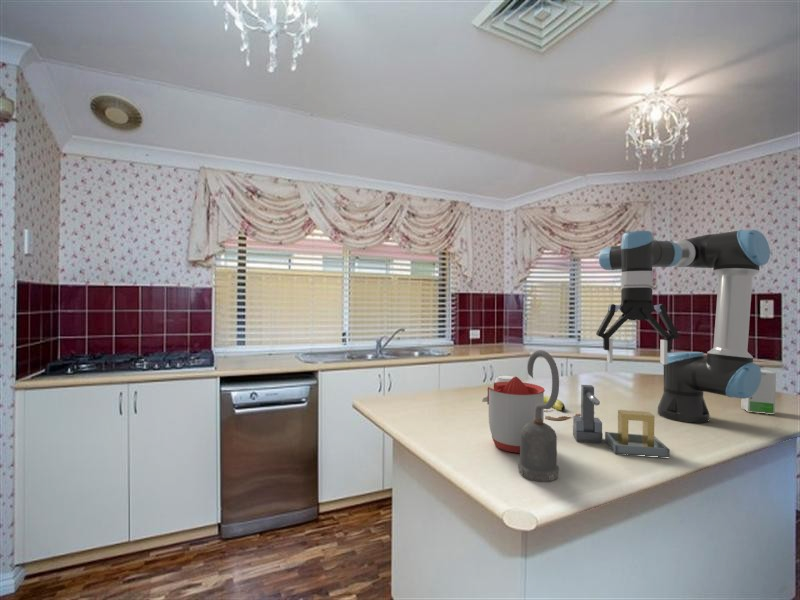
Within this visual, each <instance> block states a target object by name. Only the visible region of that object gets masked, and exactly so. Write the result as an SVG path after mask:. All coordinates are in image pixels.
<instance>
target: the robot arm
mask: <svg viewBox="0 0 800 600" xmlns="http://www.w3.org/2000/svg"><path fill="white" fill-rule="evenodd" d="M653 237H654V236H653V233H652V232H651V231H650V230H633V231H628V232H625V233H623V234H622V236H621V243H620V244H621V245H617V246H616V245H615V246H614V245H613V246H609V247H604V248H602V249H601V250H600V252H599V254H598V263H599V266H600V267H601V268H602V269H603V270H606V271H618V270H621V279H620V280H621V281H620V282H621V286H622V288H620V289H621V290H620V294H621V295H620V296H621V297H620V298H621V299H620V302H621V303H620V305H619V304H618V305H617V304H614V303H611V304H609V305H608V309H607V313H605V314H606V315H605V316H604V318H603V321H602V322H601V323H600V326H599V327H598V329H597V331H596V333H595V335H596V336H597V337H600V338H602V339H603V340H602V342H603V343H602V344H603V350H604V351H606V361H607V363H613V357H614V356H613V345H614V344H613V343H614V342H613V339H612V338H611V337H612V336H613V335H614V334H615V333H616V332H617V330H619V329H620V328H621V327H622V326H623V325H624V323H626V322H627V321H628V320H629V321H646V322H648V324H650V325H651V327H652V328H653V329H654V330H655V331H656V332H657V333H658V334H659V335H660V336H661V338H663V339H659V340H660V348H659V349H660V350H659V354H660V355H659V360H660V361H659V362H660V364H662V367H663V392H662V396H661V398H660V401H659V403H658V406H657V414H658V415H659V416H660V417H663V418H665V417H666V418H665V419H669V418H670V420H672V419H674V421H677V420H679V421H678V422H683V421H685V422H686V423H692V422H704V423H707V422H706V421H708V420H709V419H710V416H711V415H710V412H709V411H710V410H709V409H708V407H707V403H706V401H705V397H704V392H705V393H710V394H714V395H715V394H716V395H720V396H724V397H725V396H726V397H727V398H737V399H745V398H749V397H751V396H752V395H753V394H754V393H755V392H756V391H757V389H758V387H759V385H760V382H761V377H762V373H761V371H760V370H762V369H761V367H760V365H759V364H757V363H755V362H754V357H753V355H752V354H751V353H749V352H748V350H749V349H748V344H749V331H750V320H751V319H750V317H751V302H752V293H753V291H752V289H753V277H755V276H756V275H757V274H759V273H760V267H761V266H765V265H766V264H768V263H769V260H770V257H771V251H770V250H771V249H770V245H769V242H768V240H767V238H766V237H765V235H764V234H763V233H762V231H759V230H757V229H739V230H734V231H727V232H720V233H712V234H709V233H708V234H704V235H699V236H695V237H691V238H685V239H677V240H674V241H669V240H658V239H657V240H654V238H653ZM671 267H676V268H700V269H713V271H712V272H713V273H714V274H715V275H716V276H717V278H718V281H717V291H716V292H717V293H716V296H717V297H716V310H715V321H714V322H715V324H714V333H713V334H714V335H713V348H712V349H710V350H708V351H707V353H706V357H705V354H704V352H703V351H701V352H700V351H680V352H679V351H677V352H674V351H673V352H671V351H672V341H673V340H675V339H679V338H680V334H679V333H678V331H677V328H676V327H675V325H674V323H673V322H672V320H671V318H670V316H669V314H668V312H667V308H666V307H667V306H666V304H663V303H659V304H655V305H654V304H653V288H652V287H651V286H652V285H653V284H654V283H653V268H671ZM619 310H620V312H621V313H622V314H621V315H620V316H619V317H618V318H617V320H616V321H615V322H614V323H613V324H612V325H611V326H610V327H609V328H608V326H609V325H610V323H611V321H612V319H613V317H614V316H615V313H617V312H618V311H619ZM654 310H655V312H656V313H658V315H659V317H660V319H661V320H662V322H663V324H664V326H665V328H666V330H665V329H664V327H663V326H662V325H661V324H660V323H659V322H658V321H657V320H656V319H655V317H654V316H653V315H652V312H653V311H654ZM607 328H608V329H607ZM667 331H668V332H667ZM709 421H710V420H709ZM709 421H708V422H709ZM685 422H684V423H685Z"/></svg>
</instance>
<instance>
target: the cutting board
mask: <svg viewBox="0 0 800 600" xmlns="http://www.w3.org/2000/svg"><path fill="white" fill-rule="evenodd" d="M549 399H550V396H549V395H544V403H547V402H548V401H549ZM552 408H553V409H552ZM552 408H551V409H550V410H549V409H544V413H552V412H554V411H555V410H556V411H559V412H562V411H564V410H565V403H563V401H562V400H560V399H558V398H557V400H556V402H555V404H554V406H553V407H552ZM544 416H545V418H544V419H545V420H551V421H564V420H568V419H573V416H572V417H571V416H568V415H567V416H566V415H562V416H559V417H554V416H551V415H544ZM574 416H580V417H581V413H576V414H574Z"/></svg>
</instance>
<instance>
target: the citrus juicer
mask: <svg viewBox="0 0 800 600" xmlns="http://www.w3.org/2000/svg"><path fill="white" fill-rule="evenodd" d="M545 391H546V390H545V388H544V387H542V386H540V385H537V384H533V383H530V382H529V383H528V382H523V381H522V379H520V378H519V377H518V376H516V377H513V378H512V379H511V380H510V381H509V382H496V383H495V382H493V388H492V387H490V386H487V395H486V396H485V397H483V398H482V400H481V402H482V403H486V402H487V405H488V423H489V424H488V425H489V431H490V435H491V438H492V441H493V443H494V446H495V447H497V448H498V449H499V450H503V451H506V452H509V453H517V454H520V432H521V429H522V427H523V426H525V425H526V424H527V423H530V422H534V418H535V408H536V406H537V405H538V404H542V403H544V396H545V393H544V392H545ZM544 410H545V409H542V421H543V422H544V419H545V418H544V416H545V414H544V413H545V412H544Z"/></svg>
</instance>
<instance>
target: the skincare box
mask: <svg viewBox="0 0 800 600" xmlns="http://www.w3.org/2000/svg"><path fill="white" fill-rule="evenodd" d="M760 371H761V373H762V377H761V382H760V385H759V387H758V389H757V391H756V392H755V393H754V394H753V395H752V396H751V397H749V398H745V399H741V398H740V399H741V400H740V401H741V402H740V403H741V404H740V405H741V406H740V408H741V409H742V408H743V409H745V410H746V411H752V412H765V413H775V414H776V393H777V392H776V389H777V386H776V385H777V383H776V382H777V372H774V371H771V370H769V369H768V370H766V369H761V370H760ZM743 409H742V410H743ZM745 410H744V411H745ZM746 411H745V412H746Z"/></svg>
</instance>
